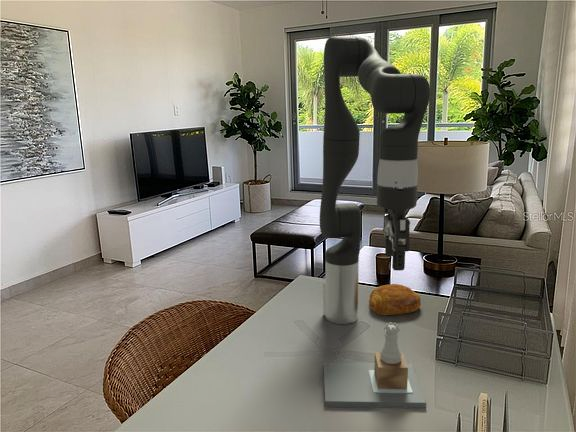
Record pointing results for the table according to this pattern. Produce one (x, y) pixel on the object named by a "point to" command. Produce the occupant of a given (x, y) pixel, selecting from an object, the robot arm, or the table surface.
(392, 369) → the walnut block
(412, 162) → the robot arm
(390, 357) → the rook chess piece
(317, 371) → the table surface
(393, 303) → the croissant
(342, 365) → the board
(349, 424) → the table surface
